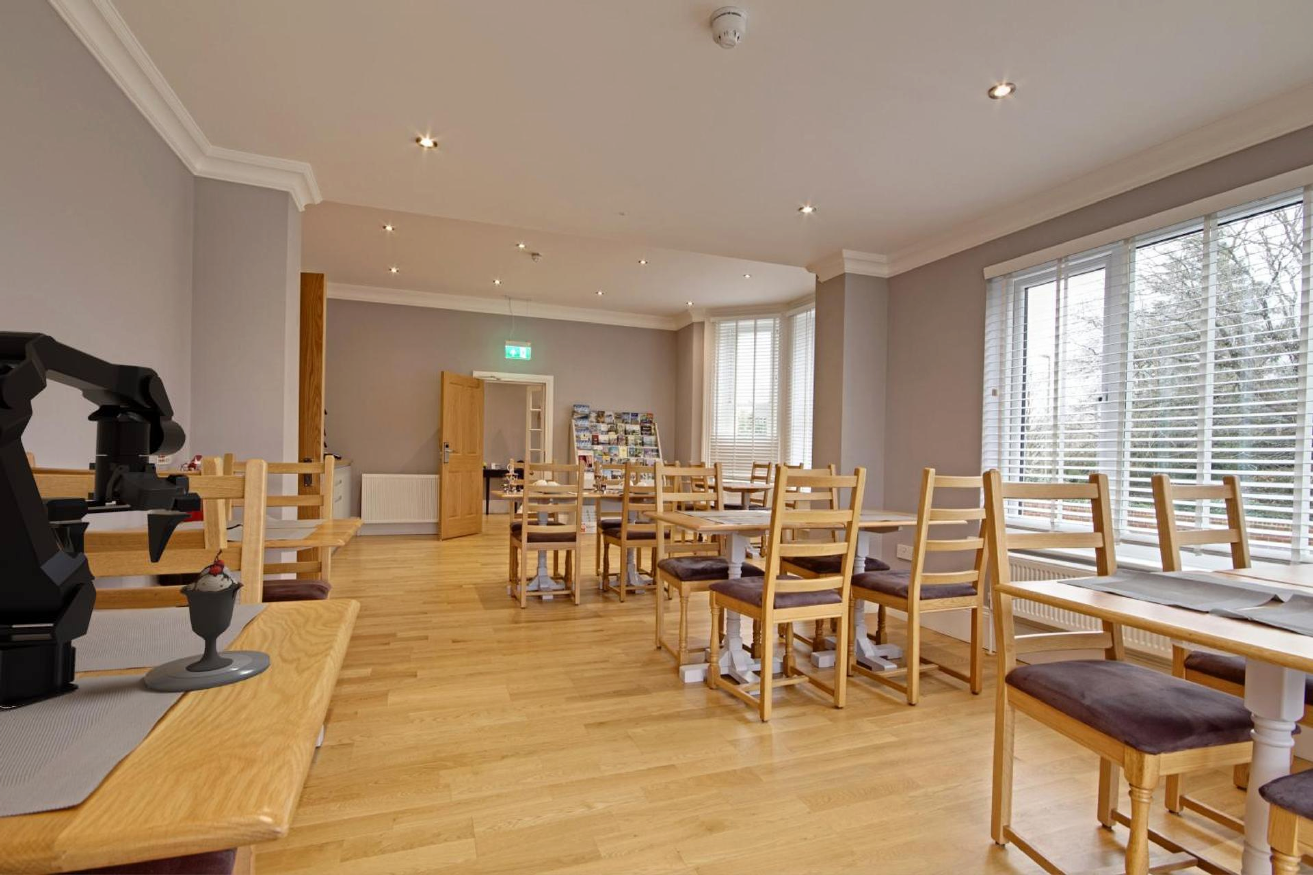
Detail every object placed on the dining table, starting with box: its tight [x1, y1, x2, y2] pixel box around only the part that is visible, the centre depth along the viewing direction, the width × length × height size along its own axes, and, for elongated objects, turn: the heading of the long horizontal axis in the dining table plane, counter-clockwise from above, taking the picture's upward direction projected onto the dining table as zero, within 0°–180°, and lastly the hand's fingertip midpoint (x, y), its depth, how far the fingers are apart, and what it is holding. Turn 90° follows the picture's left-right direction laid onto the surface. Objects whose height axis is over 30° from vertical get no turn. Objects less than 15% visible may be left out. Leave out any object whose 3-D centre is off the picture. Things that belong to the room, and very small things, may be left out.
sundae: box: [179, 548, 244, 672], centre depth 80 cm, size 7×7×15 cm
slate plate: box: [144, 649, 271, 692], centre depth 80 cm, size 13×13×1 cm
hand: (118, 567), depth 86 cm, fingers open, 9 cm apart
